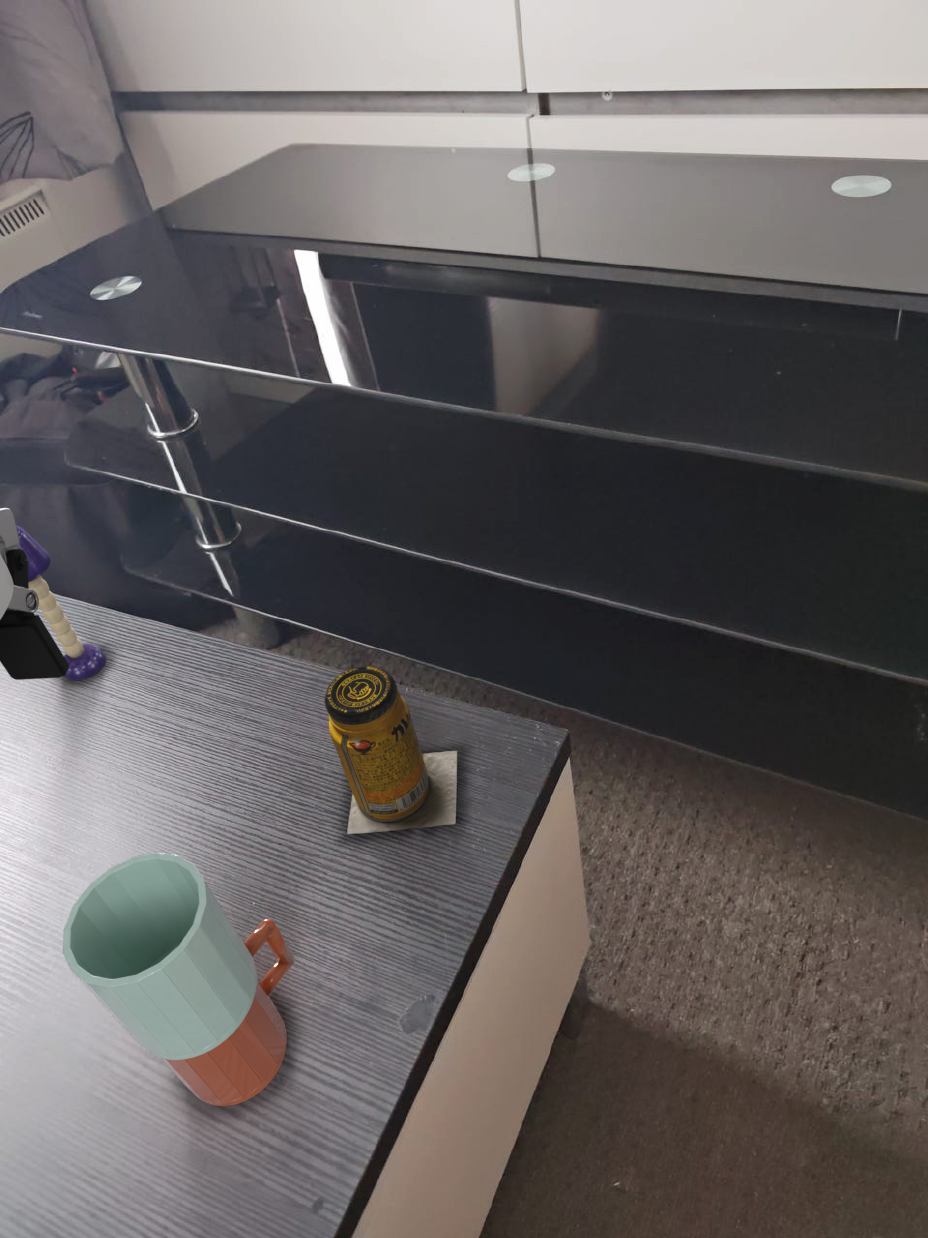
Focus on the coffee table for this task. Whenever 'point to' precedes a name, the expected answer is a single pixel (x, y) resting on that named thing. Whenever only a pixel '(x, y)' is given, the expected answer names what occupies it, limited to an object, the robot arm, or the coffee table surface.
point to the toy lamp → (58, 614)
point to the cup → (161, 956)
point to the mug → (244, 1038)
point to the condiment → (387, 757)
